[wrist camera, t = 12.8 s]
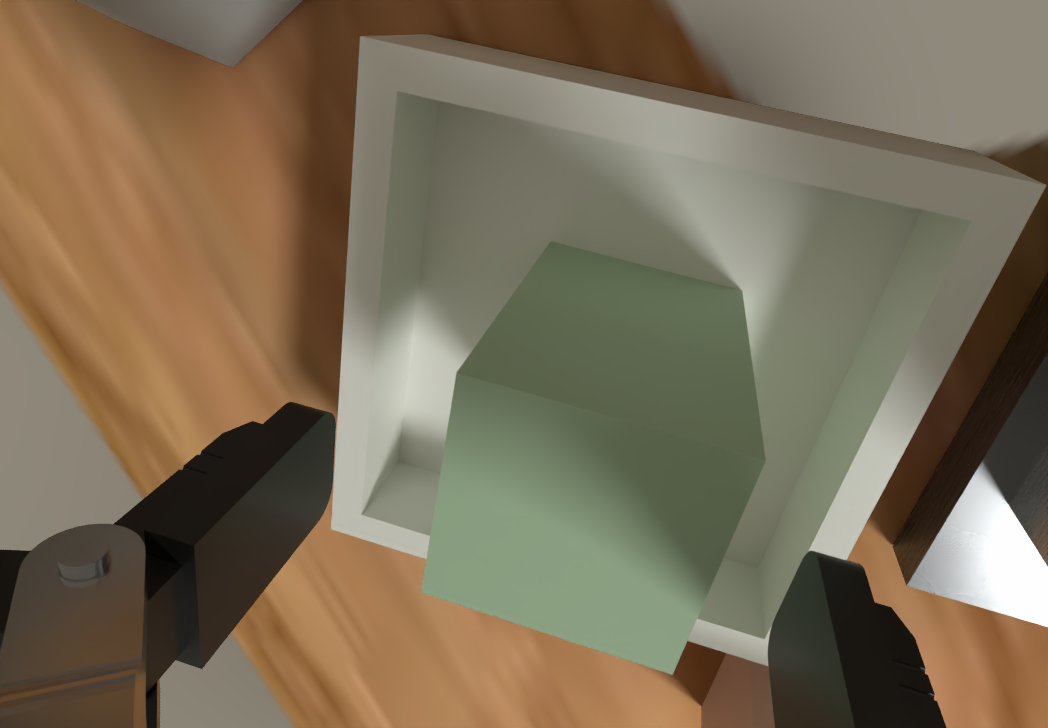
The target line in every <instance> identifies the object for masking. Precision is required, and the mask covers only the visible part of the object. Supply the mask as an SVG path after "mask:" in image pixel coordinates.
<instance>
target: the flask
mask: <svg viewBox="0 0 1048 728" xmlns="http://www.w3.org/2000/svg"><path fill="white" fill-rule="evenodd" d="M76 1H78V2H80V3H82V4H84V5H86V6H88V7H90V8H92V9H94V10H95V11H97V12H99V13H101V14H103V15H105V16H108V17H110V18H112V19H114V20H116V21H118V22H120V23H123V24H125V25H127V26H129V27H132V28H134V29H136V30H139V31H141V32H144V33H146V34H149V35H151V36H154V37H156V38H159V39H161V40H164V41H166V42H169V43H171V44H174V45H176V46H179V47H181V48H184V49H186V50H189V51H191V52H194V53H196V54H198V55H201V56H203V57H206V58H208V59H211V60H213V61H216V62H218V63H221V64H223V65H226V66H228V67H231V68H233V67H234V66H235V65H236V64H237V63H238V62H239V61H240V60H241V59H242V58H243V57H244V56H245V55H246V54H247V53H248V52H250V51H251V50H252V49H253V48H254V47H255V46H256V45H257V44H258V43H259V42H260V41H261V40H262V39H263V38H264V37H265V36H266V35H267V34H268V33H269V32H270V31H271V30H273V29H274V28H275V27H276V26H277V25H278V24H279V23H280V22H281V21H282V20H283V19H284V18H285V17H286V16H287V15H288V14H289V13H290V12H291V11H292V10H293V9H294V8H296V7H297V6H298V5H299V4H300V3H301V2H302V1H303V0H76Z"/></svg>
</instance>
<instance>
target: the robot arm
mask: <svg viewBox="0 0 1048 728" xmlns="http://www.w3.org/2000/svg"><path fill="white" fill-rule="evenodd" d="M335 428H336V422H335V417H334V415H333V414H332V413H329V412H326V411H322V410H318V409H315V408H311V407H308V406H304V405H301V404H297V403H294V402H289V403H287V404H285V405H284V406H283V407H282V408H281V409H279V410H278V411H277V412H276V413H275V414H274V415H273V416H272V417H270V418H269V419H268V420H267V421H266V422H265V423H264V424H260V423H257V422H253V421H252V422H249V423H247V424H244V425H242V426H240V427H237V428H235V429H232V430H230V431H227V432H225V433H223V434H221V435H220V436H219V437H218V438H217V439H215V440H214V441H213V442H212V443H211V444H209V445H208V446H207V447H206V448H205V449H203V450H202V451H201V454H200V455H196V456H195V457H194V458H193V459H191V460H190V461H189V462H188V463H187V464H185V465H184V468H183V470H178V471H177V472H176V473H174V474H173V475H172V476H171V477H170V478H168V479H167V480H166V481H165V482H164V483H162V484H161V485H160V486H159V487H158V488H156V489H155V490H154V491H153V492H152V493H150V494H149V495H148V496H147V497H146V498H144V499H143V500H142V501H141V502H140V503H138V504H137V505H136V506H135V507H134V508H132V509H131V510H130V511H129V512H128V513H126V514H125V515H124V516H123V517H122V518H120V519H119V520H118V521H117V522H115V523H114V524H113V525H112V524H92V525H85V526H79V527H75V528H72V529H68V530H65V531H63V532H60V533H58V534H56V535H53V536H51V537H49V538H48V539H46V540H44V541H43V542H41V543H40V544H38V545H37V546H36V547H35V548H34V549H33V550H31V551H19V550H0V728H160V683H159V679H160V677H161V676H162V675H163V674H164V673H165V671H166V670H167V669H168V668H169V667H170V666H171V664H172V663H173V662H174V661H175V660H178V661H180V662H183V663H186V664H189V665H192V666H195V667H198V668H201V669H202V668H203V667H204V666H205V664H206V663H207V662H208V661H209V659H210V658H211V657H212V655H213V654H214V653H215V652H216V650H217V649H218V648H219V646H220V645H221V644H222V643H223V641H224V640H225V639H226V638H227V637H228V635H229V634H230V633H231V631H232V630H233V629H234V628H235V626H236V625H237V624H238V623H239V621H240V620H241V619H242V618H243V616H244V615H245V614H246V612H247V611H248V610H249V609H250V607H251V606H252V605H253V604H254V602H255V601H256V600H257V599H258V597H259V596H260V595H261V593H262V592H263V591H264V590H265V588H266V587H267V586H268V585H269V583H270V582H271V581H272V580H273V578H274V577H275V576H276V574H277V573H278V572H279V571H280V569H281V568H282V567H283V566H284V564H285V563H286V562H287V561H288V559H289V558H290V557H291V555H292V554H293V553H294V552H295V550H296V549H297V548H298V547H299V545H300V544H301V543H302V542H303V540H304V539H305V538H306V536H307V535H308V534H309V533H310V531H311V530H312V529H313V528H314V526H315V525H316V524H317V522H318V521H319V520H320V518H321V517H322V515H323V513H324V511H325V509H326V507H327V504H328V502H329V498H330V495H331V491H332V483H333V465H334V447H335ZM768 666H769V676H770V685H771V695H772V704H773V714H774V723H775V728H946V725H945V723H944V720H943V717H942V714H941V711H940V708H939V706H938V703H937V701H934V695H935V694H934V691H933V689H932V686H931V683H930V680H929V677H928V675H926V674H925V666H924V663H923V660H922V657H921V655H920V652H919V649H918V646H917V643H916V640H915V638H914V636H913V635H912V634H911V633H910V631H909V630H908V629H907V627H906V626H905V625H904V624H903V622H902V621H901V620H900V618H899V617H898V616H897V614H896V613H895V612H894V611H893V609H892V608H891V607H888V606H884V605H881V604H877V603H875V602H874V599H873V596H872V593H871V589H870V586H869V583H868V579H867V576H866V573H865V570H864V568H863V567H862V565H860V564H858V563H854V562H851V561H847V560H843V559H840V558H836V557H833V556H829V555H826V554H822V553H819V552H815V551H809V552H807V554H806V555H805V556H804V557H803V559H802V561H801V563H800V565H799V568H798V570H797V572H796V574H795V576H794V578H793V580H792V582H791V584H790V586H789V589H788V591H787V593H786V595H785V597H784V599H783V601H782V603H781V605H780V608H779V610H778V612H777V614H776V616H775V618H774V621H773V624H772V627H771V631H770V636H769V642H768Z"/></svg>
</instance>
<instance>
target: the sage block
mask: <svg viewBox="0 0 1048 728" xmlns="http://www.w3.org/2000/svg"><path fill="white" fill-rule="evenodd" d="M765 462H766V459H765V452H764V444H763V437H762V430H761V423H760V416H759V408H758V401H757V394H756V387H755V379H754V372H753V365H752V358H751V350H750V343H749V336H748V329H747V321H746V314H745V307H744V300H743V292H742V290H738V289H734V288H730V287H726V286H722V285H718V284H714V283H711V282H707V281H703V280H699V279H695V278H691V277H687V276H683V275H680V274H676V273H672V272H668V271H664V270H660V269H656V268H652V267H649V266H645V265H641V264H637V263H633V262H629V261H625V260H621V259H617V258H614V257H610V256H606V255H602V254H598V253H594V252H590V251H586V250H583V249H579V248H575V247H571V246H567V245H563V244H559V243H555V242H552V241H551V242H550V243H549V244H548V246H547V247H546V249H545V250H544V251H543V253H542V254H541V256H540V257H539V258H538V260H537V261H536V262H535V264H534V265H533V267H532V268H531V269H530V271H529V272H528V274H527V275H526V276H525V278H524V279H523V281H522V282H521V283H520V285H519V286H518V288H517V289H516V290H515V292H514V293H513V295H512V296H511V297H510V299H509V300H508V301H507V303H506V304H505V306H504V307H503V308H502V310H501V311H500V313H499V314H498V315H497V317H496V318H495V320H494V321H493V322H492V324H491V325H490V327H489V328H488V329H487V331H486V332H485V334H484V335H483V336H482V338H481V339H480V340H479V342H478V343H477V345H476V346H475V347H474V349H473V350H472V352H471V353H470V354H469V356H468V357H467V359H466V360H465V361H464V363H463V364H462V366H461V367H460V368H459V370H458V371H457V373H456V379H455V385H454V391H453V397H452V403H451V410H450V416H449V422H448V428H447V434H446V441H445V447H444V453H443V459H442V465H441V472H440V478H439V484H438V490H437V496H436V502H435V509H434V515H433V521H432V527H431V533H430V540H429V546H428V552H427V558H426V564H425V571H424V577H423V583H422V589H421V593H424V594H427V595H430V596H433V597H436V598H440V599H443V600H446V601H449V602H452V603H455V604H458V605H461V606H464V607H467V608H470V609H473V610H476V611H479V612H482V613H485V614H488V615H491V616H494V617H497V618H500V619H504V620H507V621H510V622H513V623H516V624H519V625H522V626H525V627H528V628H531V629H534V630H537V631H540V632H543V633H546V634H549V635H552V636H555V637H558V638H561V639H564V640H568V641H571V642H574V643H577V644H580V645H583V646H586V647H589V648H592V649H595V650H598V651H601V652H604V653H607V654H610V655H613V656H616V657H619V658H622V659H625V660H628V661H631V662H635V663H638V664H641V665H644V666H647V667H650V668H653V669H656V670H659V671H662V672H665V673H668V674H671V675H673V673H674V670H675V668H676V666H677V664H678V661H679V659H680V657H681V654H682V652H683V650H684V648H685V645H686V643H687V641H688V638H689V636H690V634H691V631H692V629H693V627H694V625H695V622H696V620H697V618H698V615H699V613H700V611H701V609H702V606H703V604H704V602H705V599H706V597H707V595H708V592H709V590H710V588H711V586H712V583H713V581H714V579H715V576H716V574H717V572H718V570H719V567H720V565H721V563H722V560H723V558H724V556H725V553H726V551H727V549H728V547H729V544H730V542H731V540H732V537H733V535H734V533H735V531H736V528H737V526H738V524H739V521H740V519H741V517H742V514H743V512H744V510H745V508H746V505H747V503H748V501H749V498H750V496H751V494H752V492H753V489H754V487H755V485H756V482H757V480H758V478H759V475H760V473H761V471H762V469H763V466H764V464H765Z"/></svg>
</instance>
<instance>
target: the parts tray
mask: <svg viewBox="0 0 1048 728" xmlns="http://www.w3.org/2000/svg"><path fill="white" fill-rule="evenodd" d="M1045 187H1046V185H1045V184H1043V183H1041V182H1039V181H1037V180H1035V179H1032V178H1030V177H1028V176H1026V175H1024V174H1022V173H1020V172H1018V171H1015V170H1013V169H1011V168H1009V167H1007V166H1005V165H1003V164H1000V163H998V162H996V161H994V160H992V159H990V158H988V157H985V156H983V155H981V154H979V153H977V152H975V151H971V150H967V149H962V148H957V147H952V146H948V145H943V144H939V143H934V142H929V141H924V140H920V139H915V138H910V137H905V136H901V135H896V134H892V133H887V132H882V131H878V130H873V129H868V128H864V127H858V126H854V125H850V124H845V123H840V122H836V121H831V120H826V119H822V118H817V117H812V116H807V115H803V114H798V113H794V112H789V111H784V110H780V109H775V108H770V107H766V106H761V105H756V104H751V103H747V102H742V101H737V100H733V99H728V98H723V97H719V96H714V95H709V94H705V93H700V92H695V91H691V90H686V89H681V88H677V87H672V86H667V85H663V84H658V83H653V82H649V81H644V80H639V79H635V78H630V77H625V76H620V75H616V74H611V73H606V72H602V71H597V70H592V69H588V68H583V67H578V66H574V65H569V64H564V63H560V62H555V61H550V60H546V59H541V58H536V57H532V56H527V55H522V54H518V53H513V52H508V51H504V50H499V49H494V48H489V47H485V46H480V45H475V44H471V43H466V42H461V41H457V40H452V39H447V38H443V37H438V36H433V35H429V34H415V35H383V36H360V46H359V63H358V80H357V97H356V114H355V131H354V148H353V165H352V182H351V199H350V216H349V233H348V250H347V267H346V284H345V301H344V318H343V335H342V353H341V370H340V387H339V404H338V421H337V438H336V455H335V472H334V489H333V506H332V523H331V529H332V530H335V531H338V532H342V533H345V534H348V535H351V536H354V537H358V538H361V539H364V540H367V541H370V542H374V543H377V544H380V545H383V546H386V547H389V548H393V549H396V550H399V551H402V552H405V553H409V554H412V555H415V556H418V557H421V558H425V559H426V558H427V552H428V546H429V540H430V533H431V527H432V521H433V515H434V509H435V502H436V496H437V490H438V484H439V478H440V472H441V465H442V459H443V453H444V447H445V441H446V434H447V428H448V422H449V416H450V410H451V403H452V397H453V391H454V385H455V379H456V373H457V371H458V370H459V368H460V367H461V366H462V364H463V363H464V361H465V360H466V359H467V357H468V356H469V354H470V353H471V352H472V350H473V349H474V347H475V346H476V345H477V343H478V342H479V340H480V339H481V338H482V336H483V335H484V334H485V332H486V331H487V329H488V328H489V327H490V325H491V324H492V322H493V321H494V320H495V318H496V317H497V315H498V314H499V313H500V311H501V310H502V308H503V307H504V306H505V304H506V303H507V301H508V300H509V299H510V297H511V296H512V295H513V293H514V292H515V290H516V289H517V288H518V286H519V285H520V283H521V282H522V281H523V279H524V278H525V276H526V275H527V274H528V272H529V271H530V269H531V268H532V267H533V265H534V264H535V262H536V261H537V260H538V258H539V257H540V256H541V254H542V253H543V251H544V250H545V249H546V247H547V246H548V244H549V243H550V242H551V241H552V242H555V243H559V244H563V245H567V246H571V247H575V248H579V249H583V250H586V251H590V252H594V253H598V254H602V255H606V256H610V257H614V258H617V259H621V260H625V261H629V262H633V263H637V264H641V265H645V266H649V267H652V268H656V269H660V270H664V271H668V272H672V273H676V274H680V275H683V276H687V277H691V278H695V279H699V280H703V281H707V282H711V283H714V284H718V285H722V286H726V287H730V288H734V289H738V290H742V292H743V300H744V307H745V314H746V321H747V329H748V336H749V343H750V350H751V358H752V365H753V372H754V379H755V387H756V394H757V401H758V408H759V416H760V423H761V430H762V437H763V444H764V452H765V459H766V462H765V464H764V466H763V469H762V471H761V473H760V475H759V478H758V480H757V482H756V485H755V487H754V489H753V492H752V494H751V496H750V498H749V501H748V503H747V505H746V508H745V510H744V512H743V514H742V517H741V519H740V521H739V524H738V526H737V528H736V531H735V533H734V535H733V537H732V540H731V542H730V544H729V547H728V549H727V551H726V553H725V556H724V558H723V560H722V563H721V565H720V567H719V570H718V572H717V574H716V576H715V579H714V581H713V583H712V586H711V588H710V590H709V592H708V595H707V597H706V599H705V602H704V604H703V606H702V609H701V611H700V613H699V615H698V618H697V620H696V622H695V625H694V627H693V629H692V631H691V634H690V636H689V638H688V641H689V642H693V643H696V644H699V645H702V646H705V647H708V648H712V649H715V650H718V651H721V652H724V653H728V654H731V655H734V656H737V657H740V658H744V659H747V660H750V661H753V662H756V663H759V664H763V665H766V666H768V642H769V636H770V631H771V627H772V624H773V621H774V618H775V616H776V614H777V612H778V610H779V608H780V605H781V603H782V601H783V599H784V597H785V595H786V593H787V591H788V589H789V586H790V584H791V582H792V580H793V578H794V576H795V574H796V572H797V570H798V568H799V565H800V563H801V561H802V559H803V557H804V556H805V555H806V554H807V552H809V551H815V552H819V553H822V554H826V555H829V556H833V557H836V558H840V559H843V560H847V558H848V556H849V554H850V552H851V550H852V549H853V547H854V545H855V543H856V541H857V539H858V537H859V535H860V534H861V532H862V530H863V528H864V526H865V524H866V522H867V520H868V519H869V517H870V515H871V513H872V511H873V509H874V507H875V505H876V504H877V502H878V500H879V498H880V496H881V494H882V492H883V491H884V489H885V487H886V485H887V483H888V481H889V479H890V477H891V476H892V474H893V472H894V470H895V468H896V466H897V464H898V462H899V461H900V459H901V457H902V455H903V453H904V451H905V449H906V447H907V446H908V444H909V442H910V440H911V438H912V436H913V434H914V432H915V431H916V429H917V427H918V425H919V423H920V421H921V419H922V418H923V416H924V414H925V412H926V410H927V408H928V406H929V404H930V403H931V401H932V399H933V397H934V395H935V393H936V391H937V389H938V388H939V386H940V384H941V382H942V380H943V378H944V376H945V374H946V373H947V371H948V369H949V367H950V365H951V363H952V361H953V360H954V358H955V356H956V354H957V352H958V350H959V348H960V346H961V345H962V343H963V341H964V339H965V337H966V335H967V333H968V331H969V330H970V328H971V326H972V324H973V322H974V320H975V318H976V316H977V315H978V313H979V311H980V309H981V307H982V305H983V303H984V301H985V300H986V298H987V296H988V294H989V292H990V290H991V288H992V287H993V285H994V283H995V281H996V279H997V277H998V275H999V273H1000V272H1001V270H1002V268H1003V266H1004V264H1005V262H1006V260H1007V258H1008V257H1009V255H1010V253H1011V251H1012V249H1013V247H1014V245H1015V243H1016V242H1017V240H1018V238H1019V236H1020V234H1021V232H1022V230H1023V228H1024V227H1025V225H1026V223H1027V221H1028V219H1029V217H1030V215H1031V214H1032V212H1033V210H1034V208H1035V206H1036V204H1037V202H1038V200H1039V199H1040V197H1041V195H1042V193H1043V191H1044V189H1045Z"/></svg>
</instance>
